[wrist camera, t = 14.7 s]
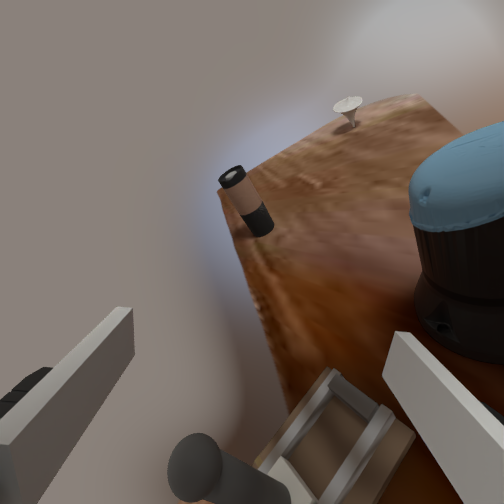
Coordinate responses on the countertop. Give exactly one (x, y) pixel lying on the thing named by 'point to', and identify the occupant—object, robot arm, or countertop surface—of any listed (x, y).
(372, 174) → the countertop surface
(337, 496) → the rail base
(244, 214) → the travel mug
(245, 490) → the slider
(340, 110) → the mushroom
